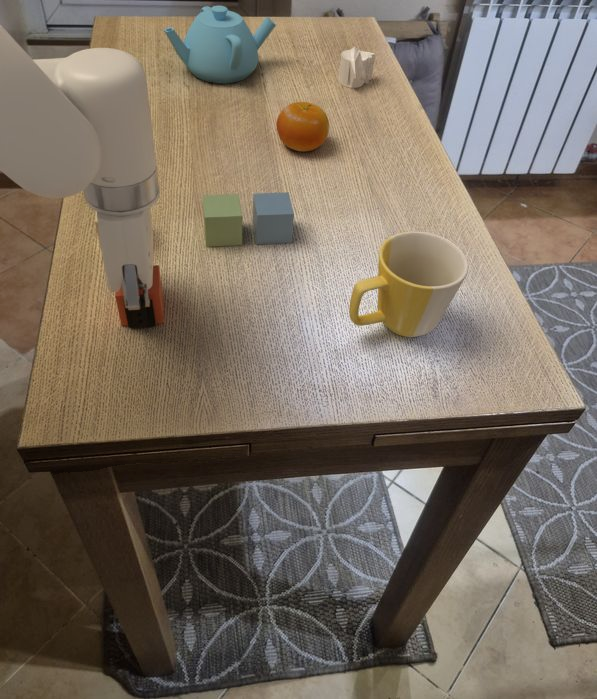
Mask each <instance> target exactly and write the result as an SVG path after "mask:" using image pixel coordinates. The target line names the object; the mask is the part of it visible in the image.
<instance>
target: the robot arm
mask: <svg viewBox="0 0 597 699" xmlns="http://www.w3.org/2000/svg"><path fill="white" fill-rule="evenodd" d="M0 172H1V173H3V174H4V175H5V176H6V177H8V178H9V179H10V180H11V181H13V182H14V183H15V184H17V185H18V186H19V187H20V188H22V189H23V190H25V191H27V192H28V193H30V194H33V195H35V196H38V197H41V198H46V199H55V200H57V199H66V198H70V197H73V196H76V195H77V194H79V193H81V192H82V191H83V195H84V200H85V203H86V204H87V206H88V207H90V209H92V210H93V211H95V212H96V211H97V221H98V230H99V238H100V243H99V245H100V244H101V248H100V251H101V250H102V252H101V255H102V262H103V268H104V272H105V279H106V284H107V289H108V290H109V291H110V292H111V293H115V292H119V290H120V288H121V285H122V289H123V296H124V308H125V312H126V317H127V322H128V325H127V327H128V328H130V329H137V328H139V329H140V328H153V327H155V326H156V321H155V314H154V308H153V301H152V300H150V298H149V289H150V288H151V287H152V284H153V266H154V229H153V228H154V227H153V218H152V212H151V211H152V210H151V208H152V207H154V206H155V205H156V203H157V202H158V200H159V199H160V196H161V190H160V182H159V174H158V164H157V157H156V148H155V141H154V132H153V123H152V116H151V106H150V99H149V90H148V82H147V76H146V72H145V68H144V67H143V65H142V64H141V62H140V61H139V60H138V58H136V57H135V56H133V55H132V54H130V53H128V52H127V51H124V50H121V49H117V48H111V47H93V48H92V47H91V48H85V49H82V50H78V51H76V52H73V53H71V54H70V55H69V56H67V57H66V56H65V57H55V58H40V59H39V58H37V59H32V57H31V56H30V55H29V54H28V53H27V52H26V51H25V49H24V48H23V47H21V45H20V44H19V43H18V42H17V41H16V40H15V39H14V38H13V37H12V36H11V35H10V33H9V32H8V31H7V30H6V28H4V27H3V25H1V24H0ZM138 278H139V279H140V280H138ZM141 288H143V294H144V297H143V296H141V297H139V289H141Z"/></svg>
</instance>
